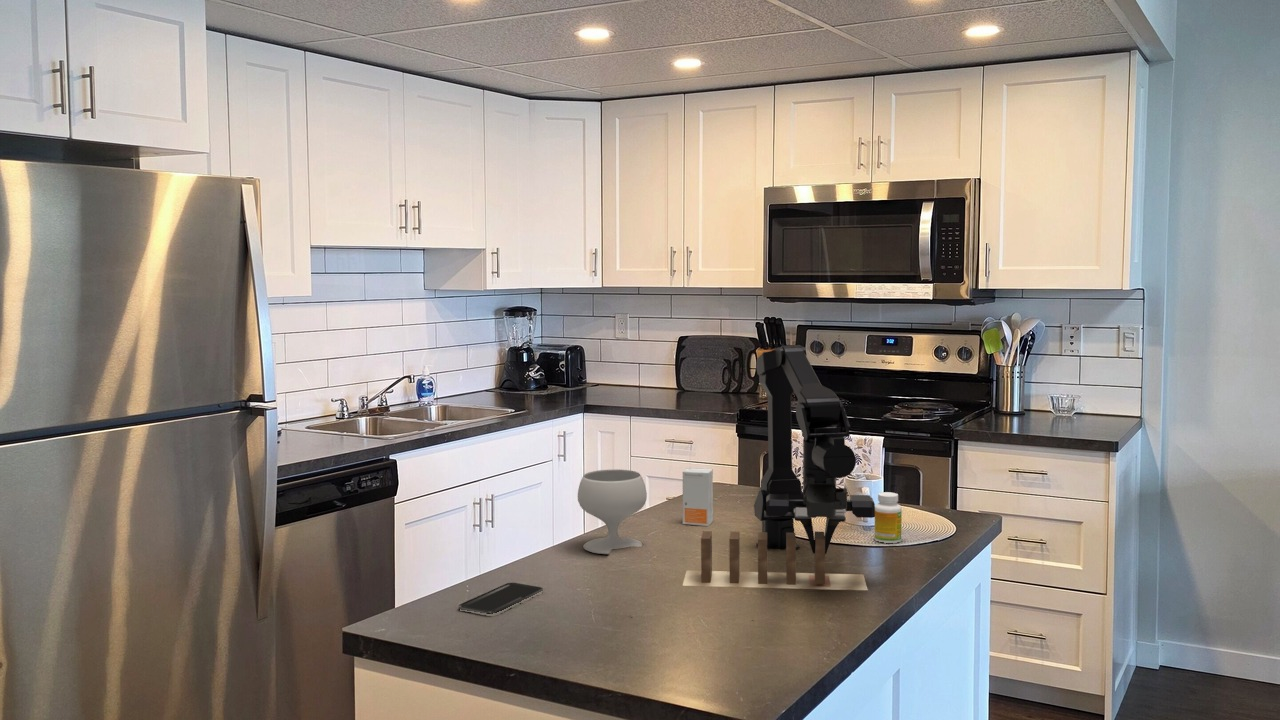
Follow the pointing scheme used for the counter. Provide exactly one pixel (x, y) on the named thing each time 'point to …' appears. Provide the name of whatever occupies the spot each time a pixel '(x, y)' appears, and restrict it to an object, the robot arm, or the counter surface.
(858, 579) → the domino board
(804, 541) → the counter surface
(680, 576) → the counter surface
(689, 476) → the skincare box
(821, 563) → the domino
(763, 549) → the domino
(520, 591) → the phone
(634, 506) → the chalice
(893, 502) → the supplement bottle
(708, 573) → the domino
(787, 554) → the domino
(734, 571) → the domino
